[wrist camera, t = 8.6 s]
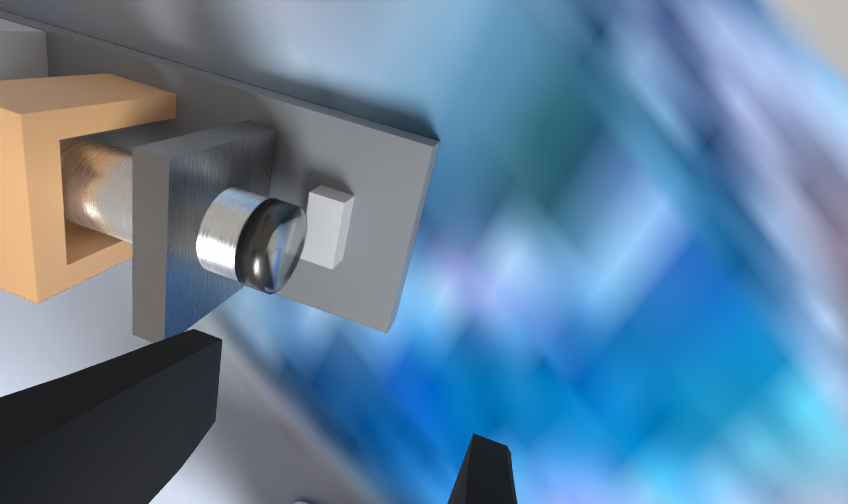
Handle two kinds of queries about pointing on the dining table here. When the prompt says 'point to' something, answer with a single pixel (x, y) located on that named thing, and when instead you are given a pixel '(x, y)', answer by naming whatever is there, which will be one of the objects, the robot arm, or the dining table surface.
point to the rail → (274, 163)
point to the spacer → (59, 176)
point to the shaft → (187, 218)
